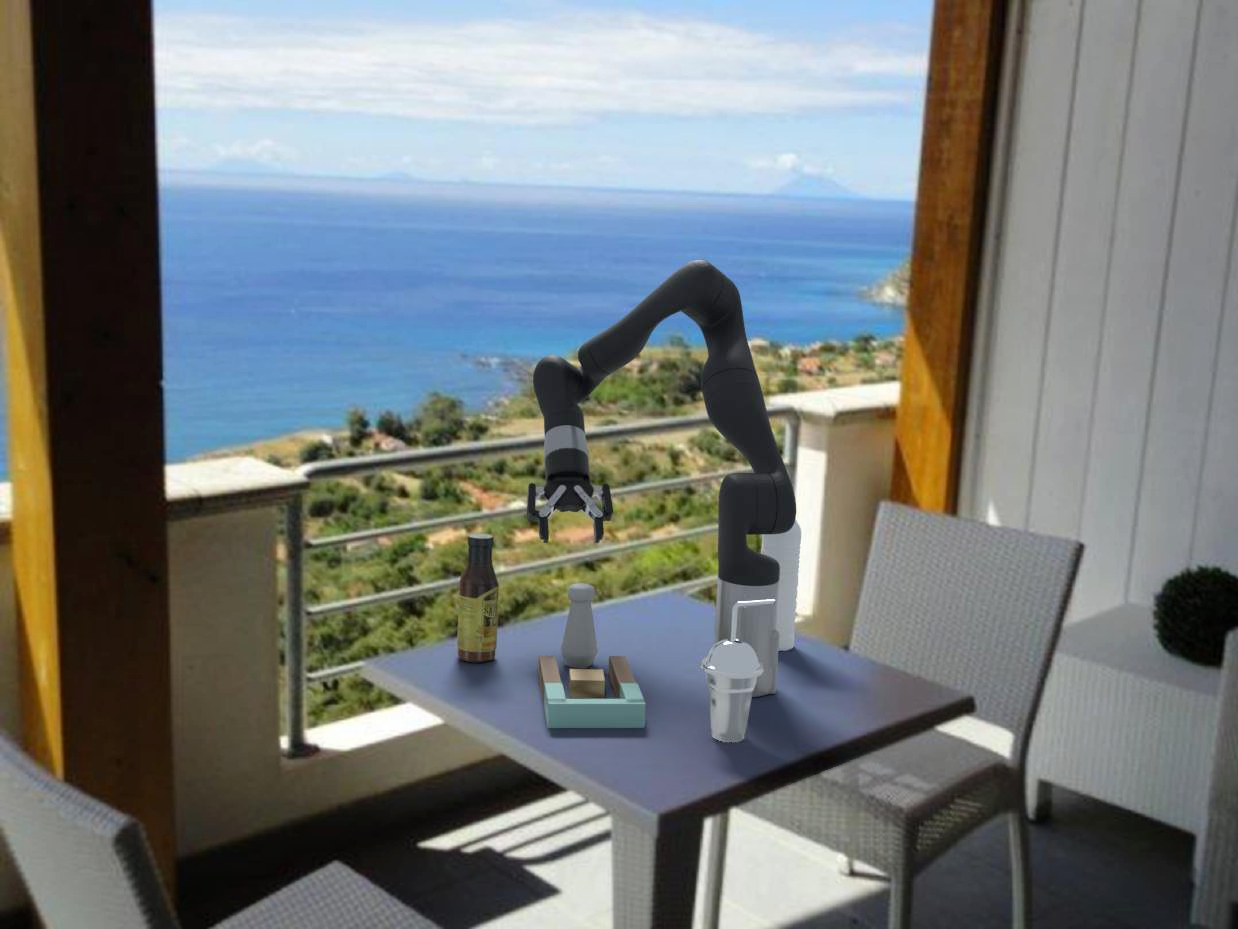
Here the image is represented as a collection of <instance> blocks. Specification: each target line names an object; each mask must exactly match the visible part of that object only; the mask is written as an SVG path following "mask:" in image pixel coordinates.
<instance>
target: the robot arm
mask: <svg viewBox="0 0 1238 929" xmlns="http://www.w3.org/2000/svg"><path fill="white" fill-rule="evenodd" d="M679 312H682V313H683V314H684V315H686V316H687V317H688V318H690V319H691V320H692V321H693V322H694V323H695V324H696V325H697V326H698V327H699V329H700V331H701V332H702V335H703V338H704V341H705V346H706V349H707V354H708V356H707V359H706V361H705V364H704V366H703V369H702V371H701V375H700V387H701V392H702V393H701V394H702V397H703V402H704V406H705V410H706V413H707V416H708V418H709V421H710V422H711V424H712V425H713V426H714V427H715V429H716V430H717V431H718V432H719V433H720V435H721V436H723V438H725V439H726V440H727V441H728V443H730V444H731V445H732V446H733V447H734V448H735V449H736V450H737V451H739V453H740V454H741V455H742V456H743V457H744V458H745V460H746V461H747V462H748V464H749V465H750V467H751V469H752V470H753V472H734V473H733V472H732V473H728V474H727V475H726V476H724V478H723V479H722V482H721V483H720V487H719V490H718V491H719V493H718V505H717V506H718V507H717V508H718V511H717V512H718V513H717V514H718V520H717V521H718V523H717V524H718V527H717V528H718V531H717V532H718V534H717V535H718V536H717V562H718V564H717V566H718V572H717V573H718V574H717V586H716V587H717V588H716V604H715V606H716V607H715V621H714V623H715V624H714V637H713V646H714V645H715V644H716V643H718V642H720V641H721V640H724V639H728V638H731V624H732V609H733V606H734V605H735V604H736V603H737V602H743V601H758V600H773V599H774V602H775V605H760V606H745V607H739V608H738V611H737V627H736V639H740V640H743V641H745V642H746V643H748V644H749V645H750V646H751V647H752V648H753V649H754V651H755V653H756V656H757V658H758V660H759V661H760V662H761V663H762V665H763V670H764V671H763V673H762V674H761V675H759V676H757V681H756V684H755V688H754V690H753V694H752V698H757V697H763V696H766V695H772V694H773V695H775V694H776V692H777V691H776V690H777V678H778V677H777V675H778V662H779V651H778V649H779V632H778V631H777V630H776V621H777V606H778V591H779V577H780V566H779V563H778V562H777V561H776V560H775V559H774V558H772V557H769V556H767V555H764V554H761V553H762V552H761V553H760V552H758V551H755V550H754V549H752V548H750V547H749V546H748V541H747V536H749V535H754V536H756V535H757V536H758V535H761V536H762V535H763V534H781V533H785V532H787V531H789V530H790V529H791V528H792V527H793V525H794V523H795V519H796V518H797V500H796V496H795V491H794V490H795V489H794V486H793V483H792V481H791V478H790V475H789V473H788V470H787V468H786V465H785V462H784V459H783V456H782V455H781V454H782V453H780V452H781V451H780V450H779V447H778V445H777V444H778V443H777V441H776V438H775V435H774V432H773V430H772V427H771V421H770V417H769V414H768V411H767V408H766V403H765V398H764V394H763V389H762V386H761V383H760V382H761V381H760V378H759V376H758V373H757V370H756V366H755V363H754V359H753V356H752V351H751V348H750V346H749V343H748V342H749V341H748V339H747V338H748V337H747V334H746V329H745V328H746V327H745V326H746V325H745V321H744V313H743V312H744V311H743V305H742V299H741V294H740V291H739V289H738V287H737V286H736V284H735V283H734V282H733V281H732V279H730V278H729V276H726V274H724V273H723V272H722V271H721V270H720V269H719V268H717V267H716V266H715V265H713V264H712V263H710V262H709V261H707V260H705V259H696V260H695V259H694V260H692V261H689V262H687V263H686V264H685V265H683V266H681V267H680V268H678V269H677V270H676V271H674V272H673V273H672V274H671V275H670V276H669V277H667V279H666V280H664V281H663V282H662V283H661V284H660V285H659V286H658V287H656V288H655V289H654V290H653V291H651V293H649V295H647V296H646V297H645V298H644V299H643V300H642V301H640V303H639V304H637V305H636V306H635V307H634V308H633V309H632V310H631V311H630V312H628V313H627V314H626V315H625V316H624V317H622V318H621V319H620V320H618V321H617V322H615V323H613V325H611V326H609V327H608V328H606V329H605V330H603V331H601V332H600V333H598V334H597V335H595V336H594V337H592V338H590V339H589V340H588V341H586V342H584V343H583V344H581V346H580V347H579V349H578V351H577V357H578V362H579V364H580V366H578V367H577V366H576V365H574V364H572V363H571V362H569V360H567V359H565V358H563V357H561V356H559V355H556V354H549V355H546V356H544V357H542V358H541V359H539V361H538V362H537V363H536V366H535V367H534V370H533V375H532V384H533V389H534V393H535V397H536V400H537V403H538V406H539V409H540V412H541V414H542V417H543V430H544V433H543V434H544V445H543V453H544V454H543V456H544V458H543V459H544V476H545V485H544V486H539V485H536V484H535V483H533V482H530V483H529V484H528V488H527V494H526V495H527V499H526V500H527V502H526V520H528V521H529V522H532V521H533V522H537V523H538V536H539V539H540V540H541V541H542V540H543V544H548V543H549V540H550V539H549V538H550V534H549V530H550V529H549V518H550V517H552V515H553V514H554V513H555V512H556V511H559V513H565V512H572V513H579V511H581V512H582V514H584V515H585V516H586V517H588V518H589V519H590V520H591V521H592V522H593V524H592V525H593V526H592V527H593V537H594V544H599V543H600V541H601V540H603V537H604V535H605V532H604V531H605V530H604V522H610V521H612V518H613V514H614V508H613V500H612V494H611V488H610V485H609V484H608V483H604V484H602V486H595V487H594V486H593V485H592V483H591V477H590V475H591V474H590V463H589V462H590V461H589V454H590V453H589V447H588V442H587V437H586V429H585V417H584V416H585V415H584V412H583V410H582V408H581V406H579V404H581V403H582V402H584V401H585V400H586V399H588V398H589V396H590V395H591V394H592V393H593V392H594V391H595V390H596V388H597V387H598V386H599V385H600V384H601V383H602V382H603V381H604V380H605V379H606V378H607V377H608V376H610V375H612V374H613V373H614V372H617V371H618V370H620V369H621V368H623V367H625V366H626V365H628V364H629V363H631V362H632V361H633V360H634V359H636V358H637V356H639V355H640V354H641V352H642V351H643V349H644V347H645V346H646V345H647V343H648V340H649V339H650V337H651V336H652V333H653V332H654V331H655V329H656V327H657V326H659V325H660V323H661V322H663V321H664V320H666V319H667V318H669V317H671V316H673V315H675V314H677V313H679ZM541 495H543V496H544V497H545V499H546V500H547V502H546V503H545V505H544V506H543V508H542V509H540V510H537V509H536V502H537V500H539V499H540V497H541ZM594 495H595V496H596V497H597V499H598V501H601V505H602V510H601V509H599V507H597V506H598V505H596V502H594V501H595V500H593V499H592V497H593V496H594ZM796 520H797V519H796Z"/></svg>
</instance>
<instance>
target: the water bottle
mask: <svg viewBox="0 0 1238 929" xmlns="http://www.w3.org/2000/svg"><path fill="white" fill-rule="evenodd" d="M801 543H802V529H801V526H800V524H799V523H798V520H797V519H795V523H794V525H793V527H792V528H791V529H790V530H789V531H787V532H785V533H781V534H763V535H761V549H760V550H761V554H764V555H767V556H769V557H772V558H774V559H775V560H776V561H777V562H778V563H779V566H780V577H779V591H778V606H777V621H776V630H777V631H778V632H779V649H778V652H780V651H781V652H787V651H790V650H792V649H793V648H794V645H795V631H796V618H797V617H796V616H797V613H796V610H797V604H798V603H797V599H798V587H799V568H800V565H799V564H800V557H801V556H800V555H801Z"/></svg>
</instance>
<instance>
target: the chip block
mask: <svg viewBox="0 0 1238 929" xmlns="http://www.w3.org/2000/svg"><path fill="white" fill-rule="evenodd" d="M568 679H569V680H568V689H569V699H605V685H606V679H605V674H604V669H602V668H601V669H599V668H598V669H593V668H590V669H589V668H569V676H568Z"/></svg>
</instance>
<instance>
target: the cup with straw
mask: <svg viewBox="0 0 1238 929" xmlns="http://www.w3.org/2000/svg"><path fill="white" fill-rule="evenodd" d="M760 605H775V602H774V599H773V600H758V601H743V602H737V603H736V604H735V605H734V606H733V609H732V624H731V638H728V639H724V640H721V641H720V642H718V643H716V644H715V645H714V644H713V646H712V647H711V648H710V651H709V652H708V654H707V656H706V657H704V658H703V659H702V660H701V665H700V668H701V670H702V671H703V672H705V674H706V677H705V678H706V682H707V687H708V697H709V698H708V700H709V714H710V717H709V718H710V729H711V735H712V736H711V738H712V737H713V738H715V739H717V740H719V741H718V742H720V741H722V742H721V743H726V742H727V744H728V743H729V742H732V743H733V742H734V743H733V744H736V743H740V741H741V742H742V740H743V739H744V740H745V732H746V731H747V727H748V721H749V716H750V715H749V714H750V710H751V703H752V698H753V697H752V694H753V690H754V688H755V684H756V681H757V676H759V675H761V674H762V673H763V671H764V670H763V665H762V663H761V662H760V661H759V660H758V658H757V656H756V653H755V651H754V649H753V648H752V647H751V646H750V645H749V644H748V643H746V642H745V641H743V640H740V639H736V627H737V611H738V608H739V607H745V606H760ZM713 738H712V739H713ZM715 739H714V740H715ZM717 740H716V741H717ZM744 740H743V741H744ZM735 742H736V743H735ZM732 743H731V744H732ZM729 744H730V743H729Z"/></svg>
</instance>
